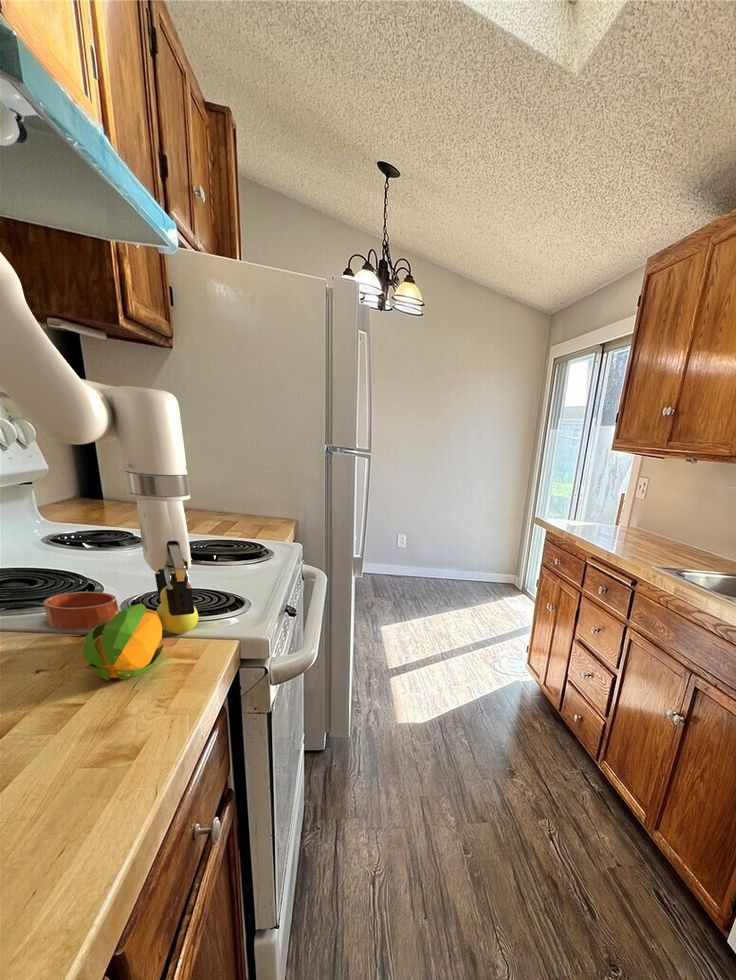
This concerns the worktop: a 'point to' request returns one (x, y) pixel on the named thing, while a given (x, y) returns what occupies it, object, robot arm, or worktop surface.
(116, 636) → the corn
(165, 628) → the pear
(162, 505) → the robot arm
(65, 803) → the worktop surface
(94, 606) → the bowl
